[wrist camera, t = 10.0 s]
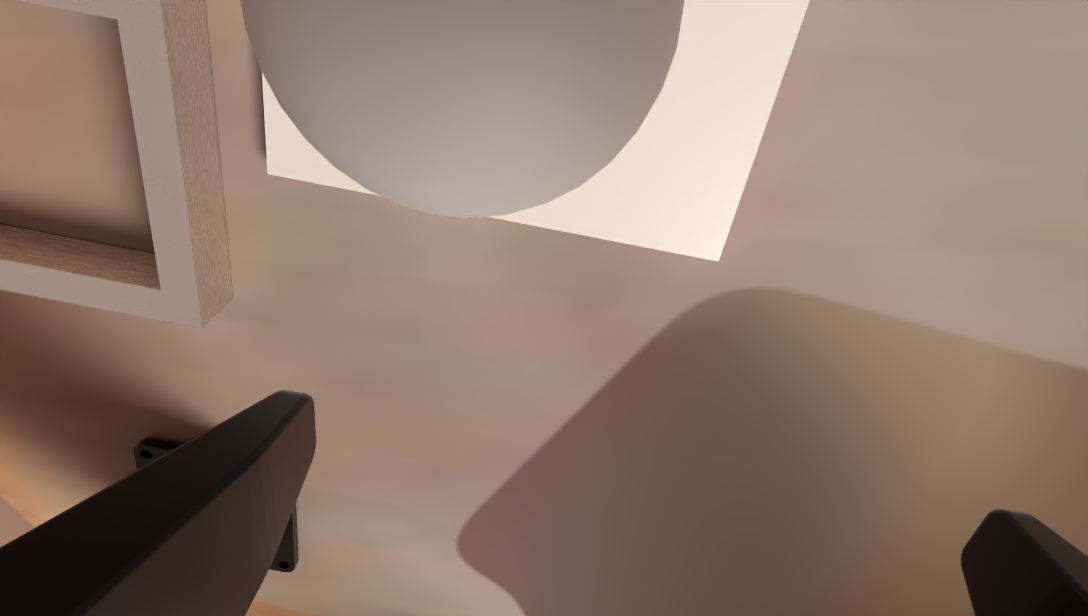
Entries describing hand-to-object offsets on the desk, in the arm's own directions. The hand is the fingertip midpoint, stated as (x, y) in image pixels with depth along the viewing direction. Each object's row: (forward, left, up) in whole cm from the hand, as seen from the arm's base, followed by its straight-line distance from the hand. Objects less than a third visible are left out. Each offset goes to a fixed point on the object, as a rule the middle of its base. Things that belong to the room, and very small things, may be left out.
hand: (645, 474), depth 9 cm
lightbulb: (+5, +4, -12) cm, 14 cm away
